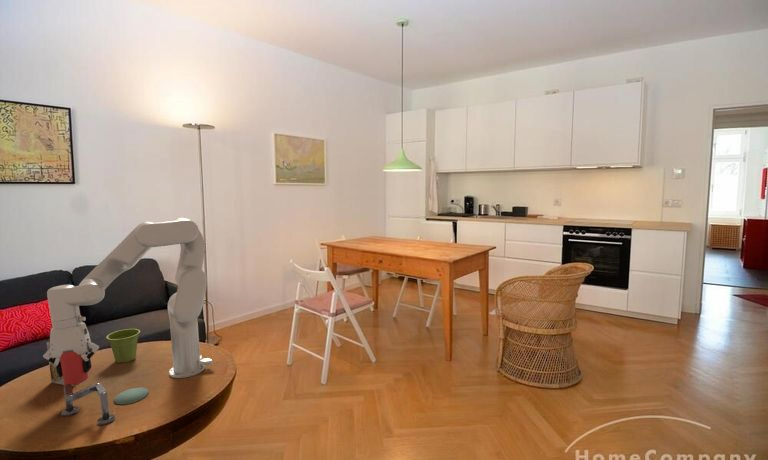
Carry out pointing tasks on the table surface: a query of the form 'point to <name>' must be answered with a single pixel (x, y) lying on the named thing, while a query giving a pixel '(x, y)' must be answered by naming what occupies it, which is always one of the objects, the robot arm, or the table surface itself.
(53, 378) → the coffee box
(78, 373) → the beer can
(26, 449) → the table surface
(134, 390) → the coaster
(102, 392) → the zigzag metal bar linkage
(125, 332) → the plant pot
